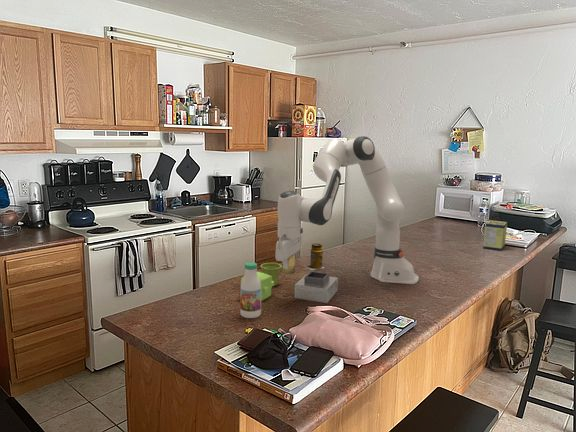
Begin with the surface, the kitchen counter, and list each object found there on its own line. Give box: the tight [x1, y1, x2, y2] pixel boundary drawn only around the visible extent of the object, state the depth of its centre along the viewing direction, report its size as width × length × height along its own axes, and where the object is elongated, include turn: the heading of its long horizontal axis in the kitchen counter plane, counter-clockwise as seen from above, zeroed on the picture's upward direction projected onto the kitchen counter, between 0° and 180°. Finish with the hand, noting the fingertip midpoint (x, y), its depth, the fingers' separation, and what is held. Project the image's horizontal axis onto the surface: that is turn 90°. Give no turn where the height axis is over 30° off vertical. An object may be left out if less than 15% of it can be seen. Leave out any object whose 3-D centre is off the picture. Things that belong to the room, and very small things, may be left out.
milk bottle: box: [239, 261, 262, 319], centre depth 169 cm, size 8×8×20 cm
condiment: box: [303, 243, 326, 271], centre depth 231 cm, size 7×8×12 cm
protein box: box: [482, 219, 508, 252], centre depth 279 cm, size 10×16×16 cm
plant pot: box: [260, 262, 283, 287], centre depth 205 cm, size 9×9×9 cm
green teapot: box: [239, 271, 275, 302], centre depth 187 cm, size 18×10×10 cm, turn 147°
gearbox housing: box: [294, 270, 339, 304], centre depth 193 cm, size 14×16×8 cm
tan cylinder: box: [282, 254, 296, 275], centre depth 183 cm, size 5×5×8 cm
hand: (288, 265), depth 183 cm, fingers closed on tan cylinder, 5 cm apart
